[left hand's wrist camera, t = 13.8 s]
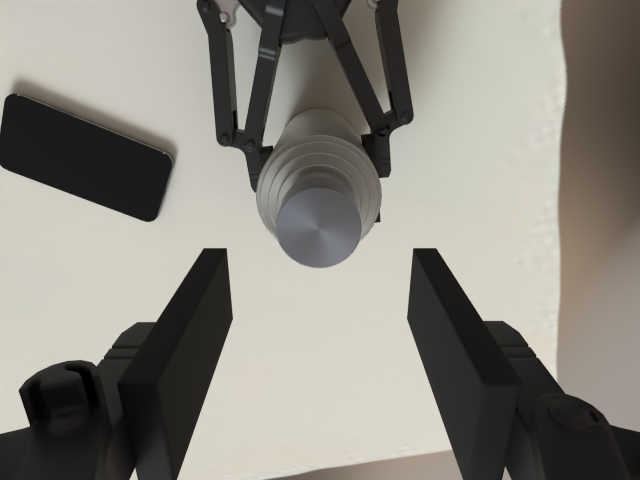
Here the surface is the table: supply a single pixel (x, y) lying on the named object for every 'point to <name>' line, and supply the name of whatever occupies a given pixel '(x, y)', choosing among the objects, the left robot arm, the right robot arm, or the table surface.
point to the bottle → (318, 165)
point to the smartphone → (83, 158)
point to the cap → (318, 222)
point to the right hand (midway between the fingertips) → (326, 222)
